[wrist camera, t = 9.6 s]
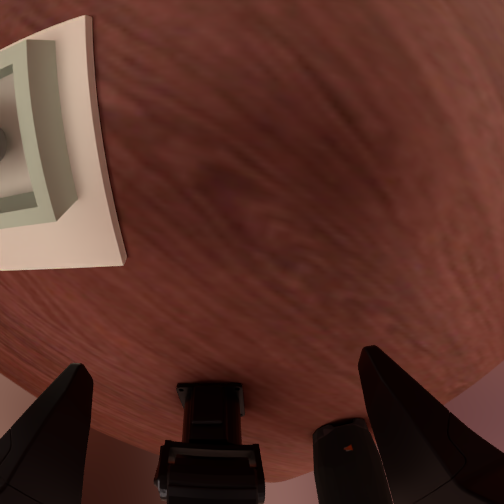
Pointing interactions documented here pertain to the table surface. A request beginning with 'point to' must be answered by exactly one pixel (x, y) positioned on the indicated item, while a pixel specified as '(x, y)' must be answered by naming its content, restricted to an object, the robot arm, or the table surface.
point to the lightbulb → (2, 144)
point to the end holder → (54, 155)
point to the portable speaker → (348, 466)
